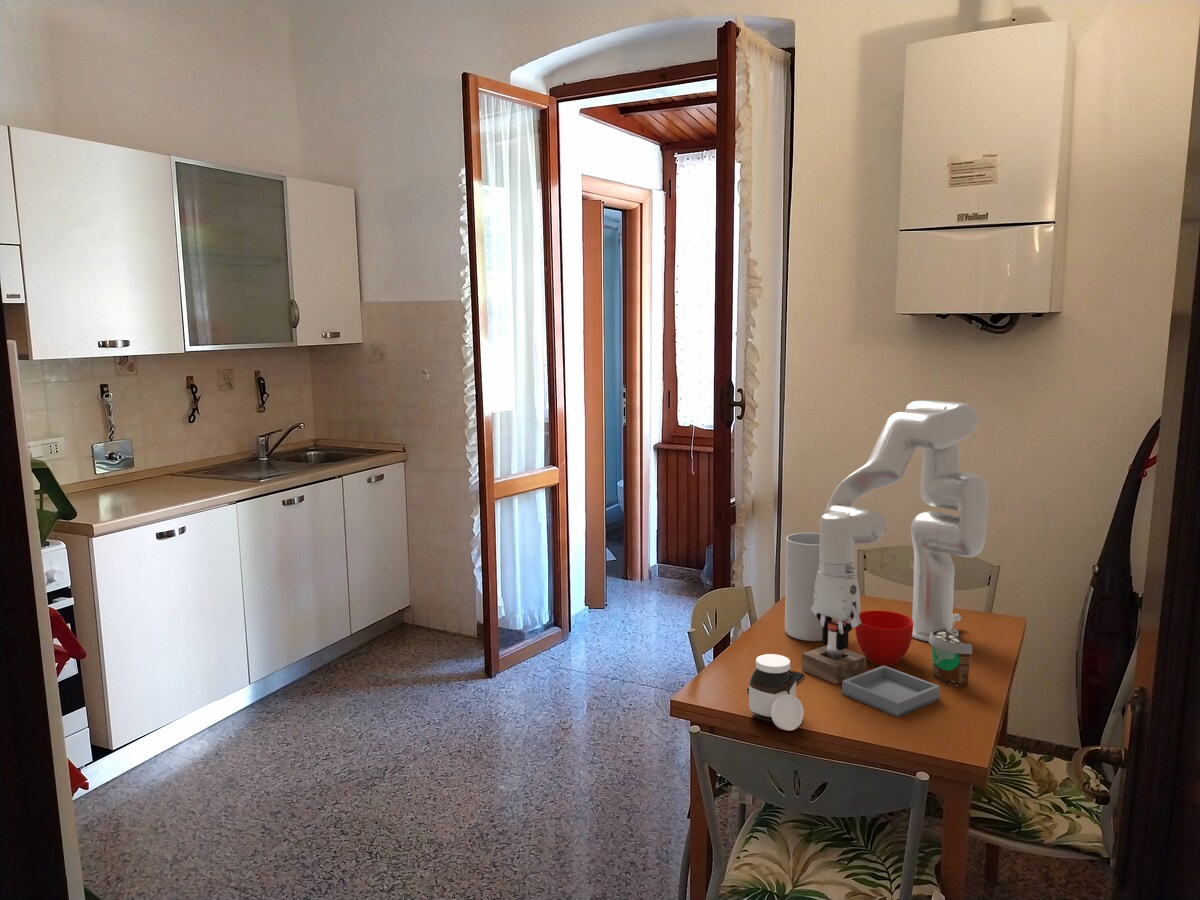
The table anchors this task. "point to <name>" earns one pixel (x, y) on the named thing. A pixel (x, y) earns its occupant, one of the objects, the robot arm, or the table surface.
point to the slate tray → (891, 690)
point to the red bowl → (884, 636)
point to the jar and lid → (775, 692)
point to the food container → (950, 657)
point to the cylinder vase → (802, 586)
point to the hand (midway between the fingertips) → (835, 645)
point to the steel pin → (833, 641)
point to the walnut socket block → (833, 665)
